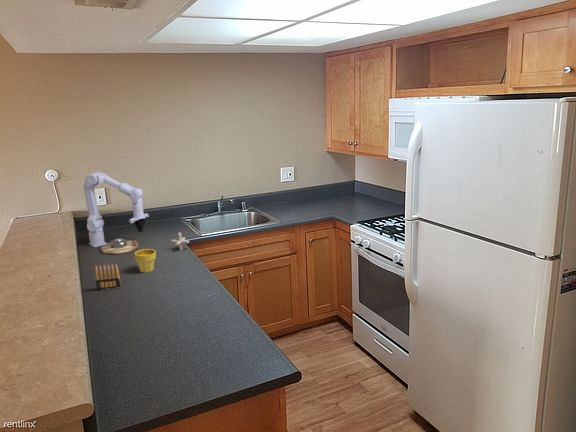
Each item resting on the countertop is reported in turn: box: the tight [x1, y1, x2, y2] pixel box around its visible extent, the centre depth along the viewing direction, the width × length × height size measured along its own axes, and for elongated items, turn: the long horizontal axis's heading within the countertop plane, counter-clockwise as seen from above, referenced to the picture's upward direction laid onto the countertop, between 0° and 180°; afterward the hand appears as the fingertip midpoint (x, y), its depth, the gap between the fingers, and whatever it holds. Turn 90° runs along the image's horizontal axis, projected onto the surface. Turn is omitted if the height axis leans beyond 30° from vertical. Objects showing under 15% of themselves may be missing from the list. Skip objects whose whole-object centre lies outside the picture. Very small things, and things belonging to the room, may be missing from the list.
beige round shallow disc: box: [100, 239, 139, 255], centre depth 264 cm, size 20×20×4 cm
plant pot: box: [134, 248, 157, 273], centre depth 231 cm, size 10×10×10 cm
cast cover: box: [109, 237, 128, 249], centre depth 264 cm, size 9×9×4 cm
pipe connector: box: [171, 232, 190, 251], centre depth 260 cm, size 10×10×10 cm
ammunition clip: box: [94, 263, 122, 290], centre depth 210 cm, size 11×2×12 cm, turn 101°
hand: (140, 231), depth 268 cm, fingers closed
